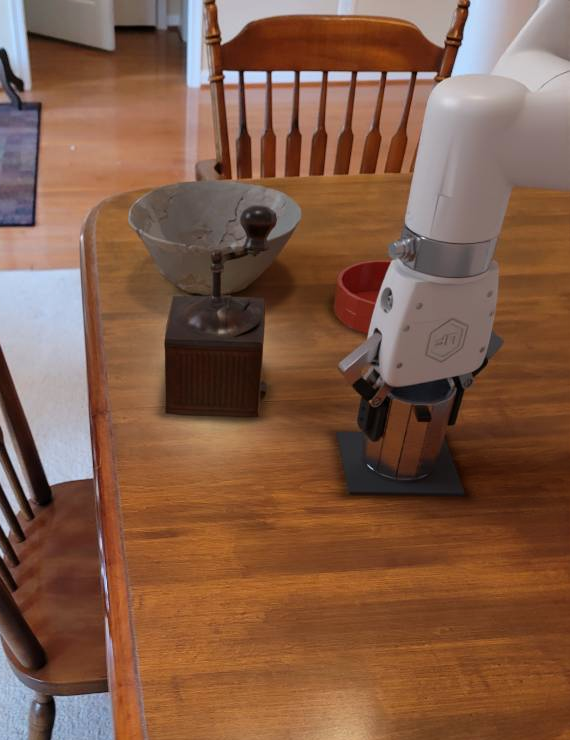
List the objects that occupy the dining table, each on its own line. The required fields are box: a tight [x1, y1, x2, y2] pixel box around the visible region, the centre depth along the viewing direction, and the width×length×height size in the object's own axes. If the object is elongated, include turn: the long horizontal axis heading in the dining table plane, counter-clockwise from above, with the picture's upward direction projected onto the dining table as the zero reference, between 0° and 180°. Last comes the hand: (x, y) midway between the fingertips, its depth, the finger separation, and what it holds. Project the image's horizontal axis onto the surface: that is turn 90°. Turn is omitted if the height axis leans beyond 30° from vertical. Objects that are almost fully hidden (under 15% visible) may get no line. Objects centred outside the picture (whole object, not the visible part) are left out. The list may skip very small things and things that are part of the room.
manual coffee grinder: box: [163, 205, 277, 419], centre depth 90 cm, size 16×11×18 cm
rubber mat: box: [335, 430, 466, 497], centre depth 84 cm, size 11×10×1 cm
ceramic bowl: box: [127, 179, 302, 296], centre depth 111 cm, size 22×23×10 cm
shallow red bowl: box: [333, 259, 392, 335], centre depth 106 cm, size 13×13×4 cm
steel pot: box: [361, 376, 457, 483], centre depth 80 cm, size 7×10×9 cm
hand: (406, 424), depth 80 cm, fingers closed on steel pot, 7 cm apart
